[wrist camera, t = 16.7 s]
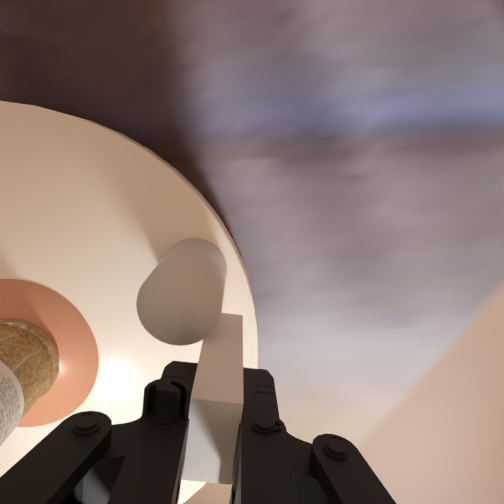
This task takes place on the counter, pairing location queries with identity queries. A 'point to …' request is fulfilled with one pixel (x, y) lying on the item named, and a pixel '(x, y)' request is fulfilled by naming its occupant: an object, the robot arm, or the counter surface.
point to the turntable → (107, 267)
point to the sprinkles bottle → (23, 370)
